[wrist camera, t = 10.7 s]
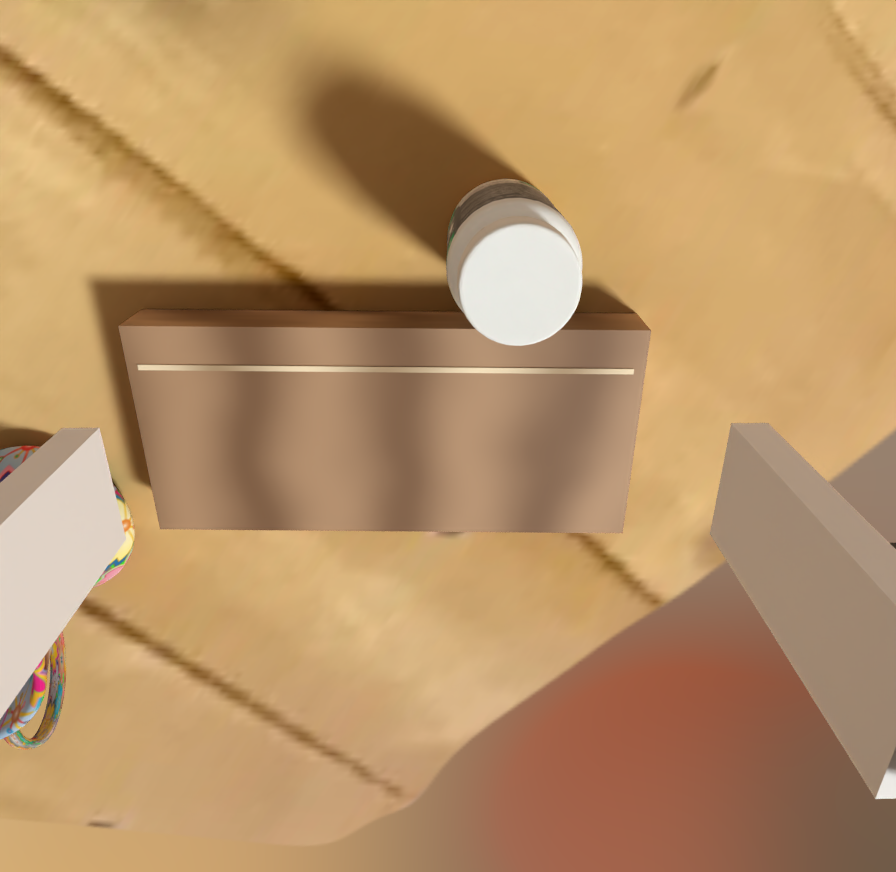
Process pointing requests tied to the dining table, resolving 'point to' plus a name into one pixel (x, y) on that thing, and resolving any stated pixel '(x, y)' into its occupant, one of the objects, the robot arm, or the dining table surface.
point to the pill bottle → (513, 263)
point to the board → (384, 420)
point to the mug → (34, 688)
